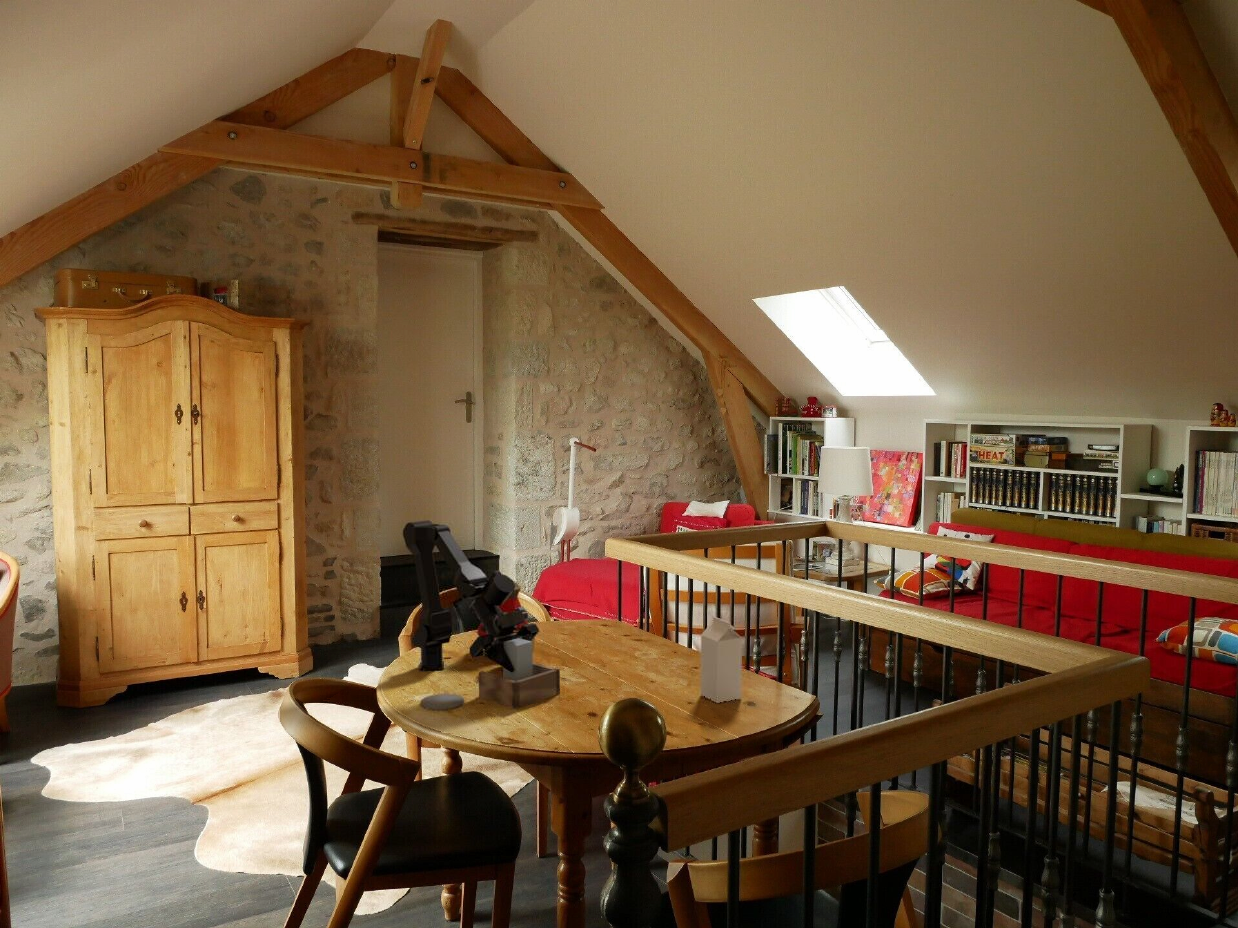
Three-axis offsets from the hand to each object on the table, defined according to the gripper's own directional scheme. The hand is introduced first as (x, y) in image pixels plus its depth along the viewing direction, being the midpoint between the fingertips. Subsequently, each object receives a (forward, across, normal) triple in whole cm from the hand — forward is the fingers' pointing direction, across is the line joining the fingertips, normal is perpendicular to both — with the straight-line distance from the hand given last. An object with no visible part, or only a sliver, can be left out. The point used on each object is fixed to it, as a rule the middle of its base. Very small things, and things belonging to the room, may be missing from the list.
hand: (521, 668), depth 218 cm
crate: (+4, 0, +6) cm, 7 cm away
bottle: (-18, +23, +28) cm, 41 cm away
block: (+4, 0, +6) cm, 7 cm away
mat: (-2, -16, +12) cm, 20 cm away
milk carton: (+31, +31, -21) cm, 49 cm away
